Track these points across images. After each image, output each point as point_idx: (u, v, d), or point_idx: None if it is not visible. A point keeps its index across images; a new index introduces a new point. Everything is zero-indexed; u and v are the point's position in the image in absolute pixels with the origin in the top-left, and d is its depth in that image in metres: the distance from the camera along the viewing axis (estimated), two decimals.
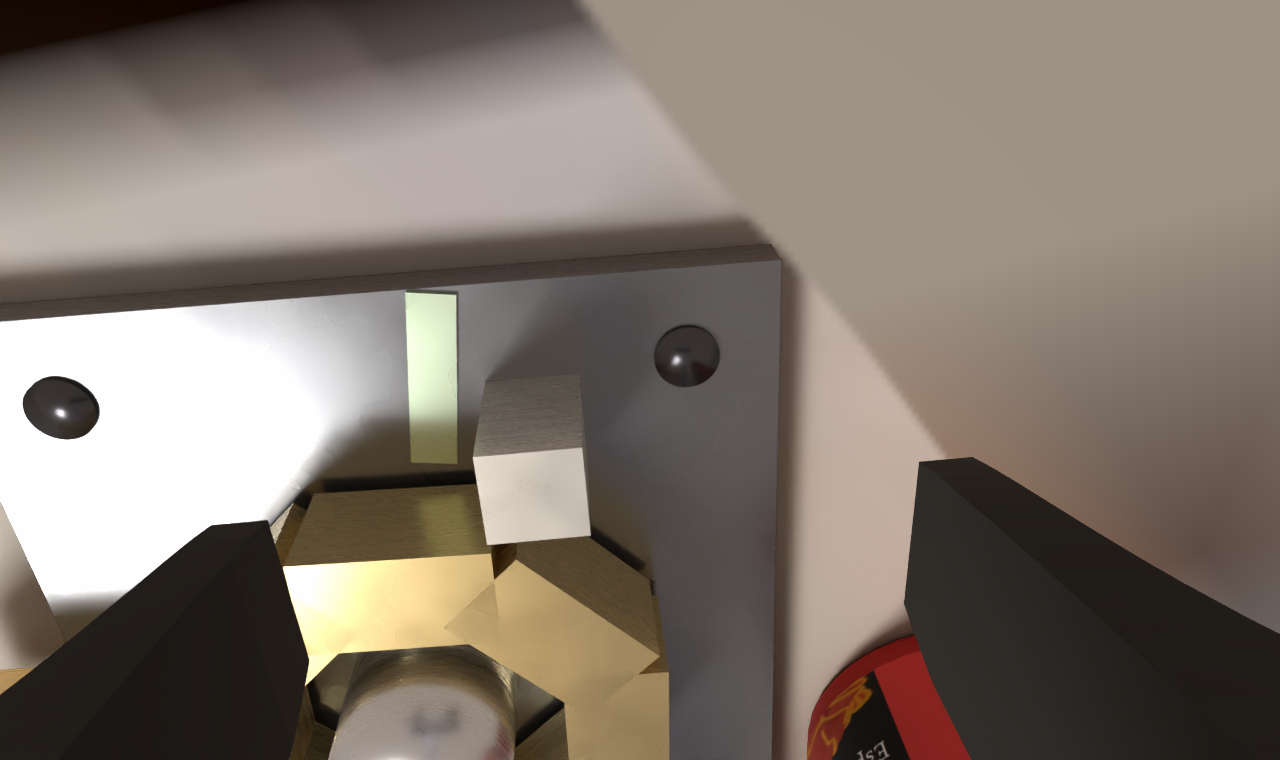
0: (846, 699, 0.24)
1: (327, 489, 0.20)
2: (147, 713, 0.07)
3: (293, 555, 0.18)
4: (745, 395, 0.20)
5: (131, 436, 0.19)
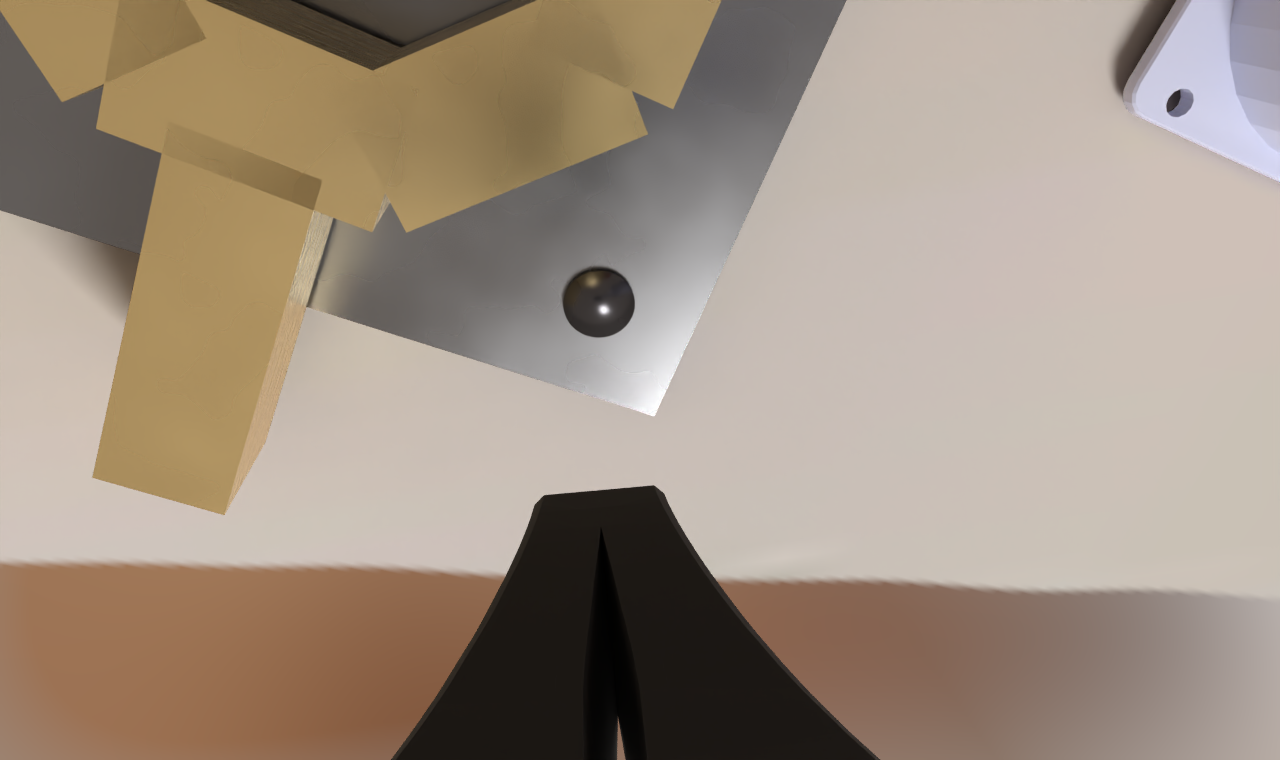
0: None
1: None
2: (591, 669, 0.07)
3: None
4: None
5: None
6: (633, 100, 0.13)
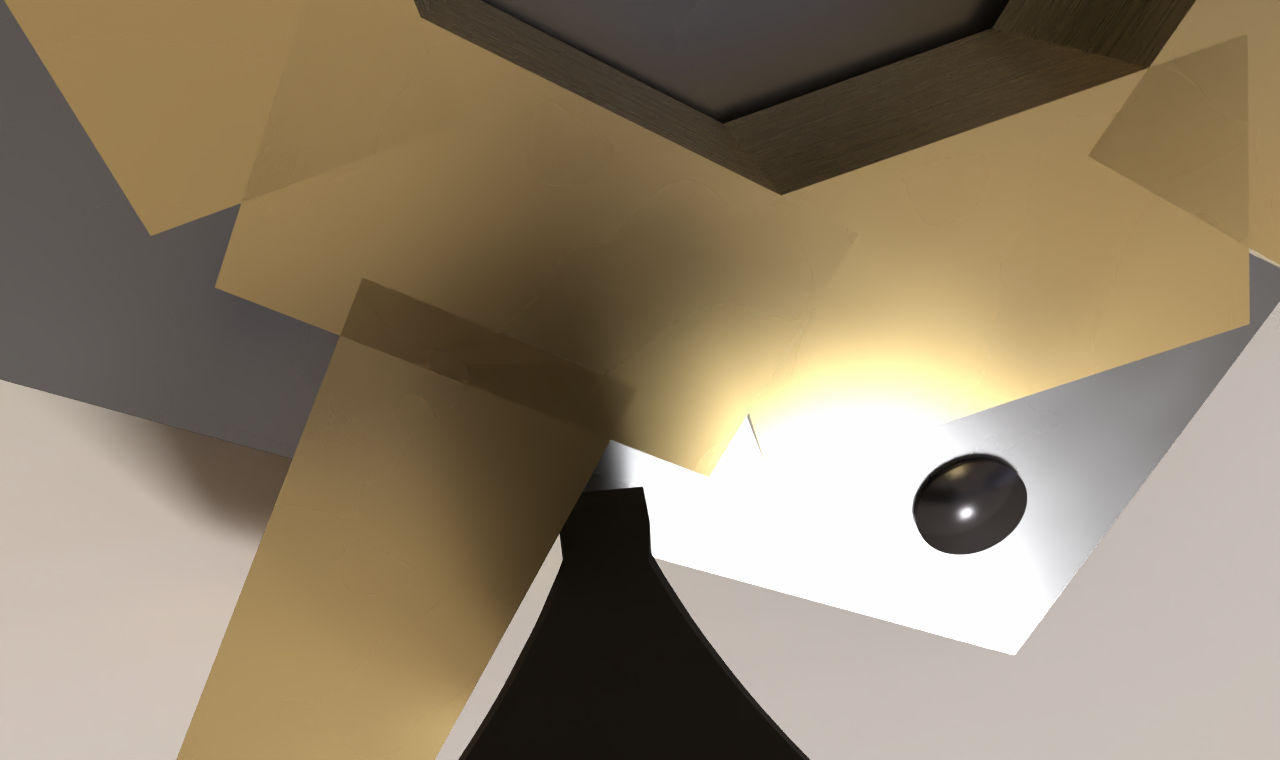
0: None
1: None
2: None
3: None
4: None
5: None
6: (1244, 264, 0.07)
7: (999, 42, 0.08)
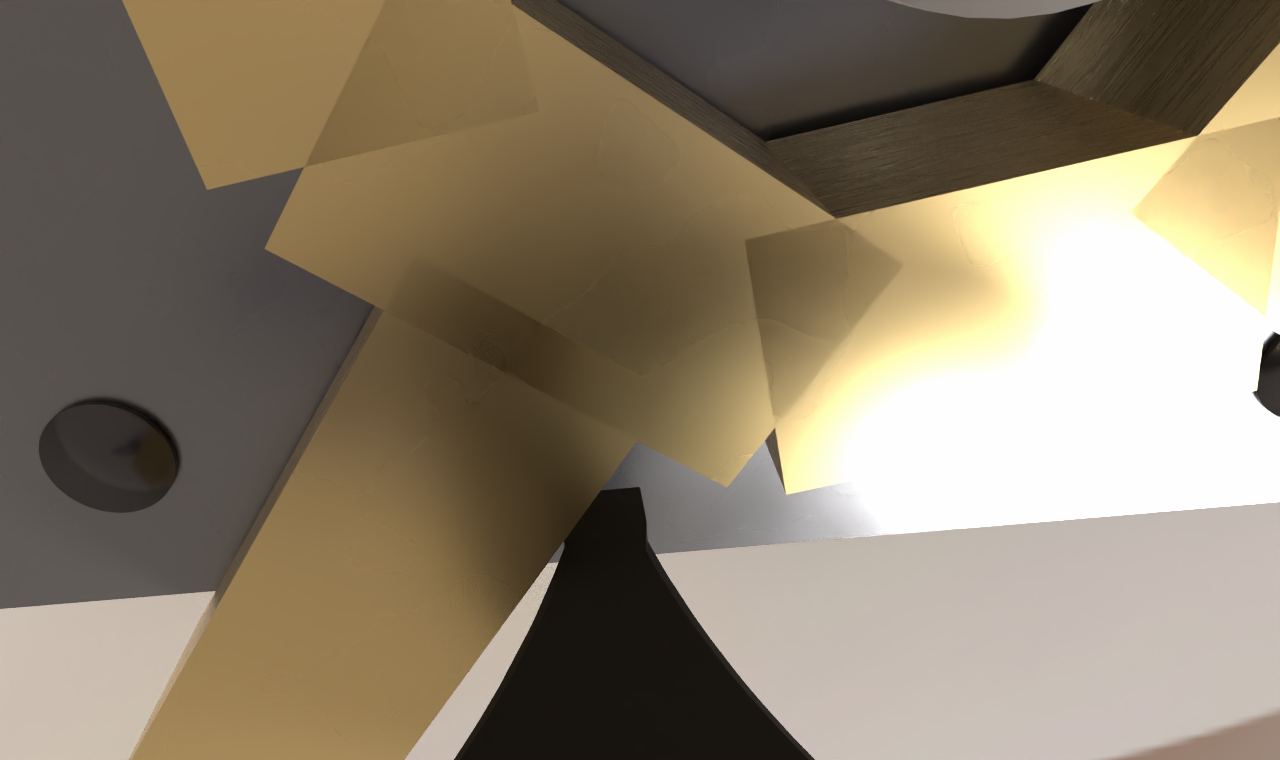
0: None
1: None
2: None
3: None
4: None
5: (154, 357, 0.10)
6: (1259, 332, 0.07)
7: (1043, 94, 0.08)
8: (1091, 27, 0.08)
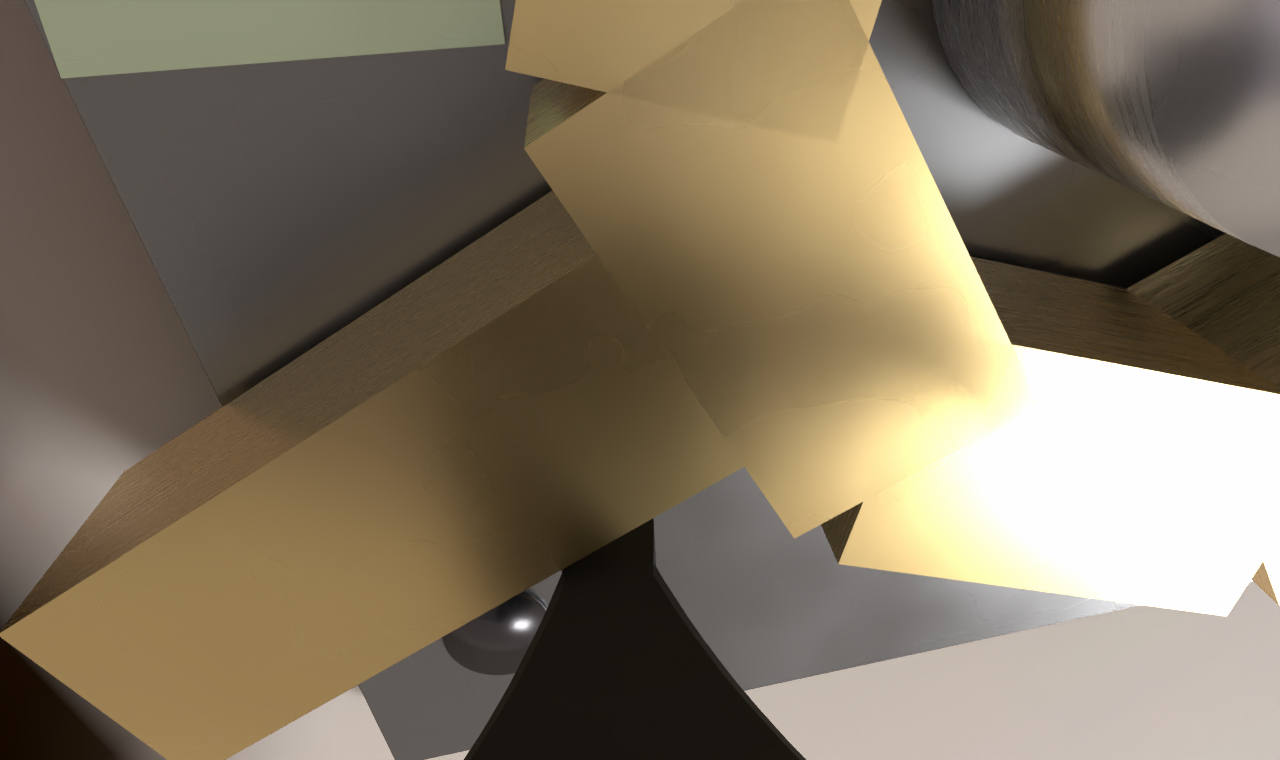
0: None
1: None
2: None
3: None
4: None
5: None
6: (1252, 571, 0.08)
7: (1142, 305, 0.09)
8: (1192, 268, 0.09)
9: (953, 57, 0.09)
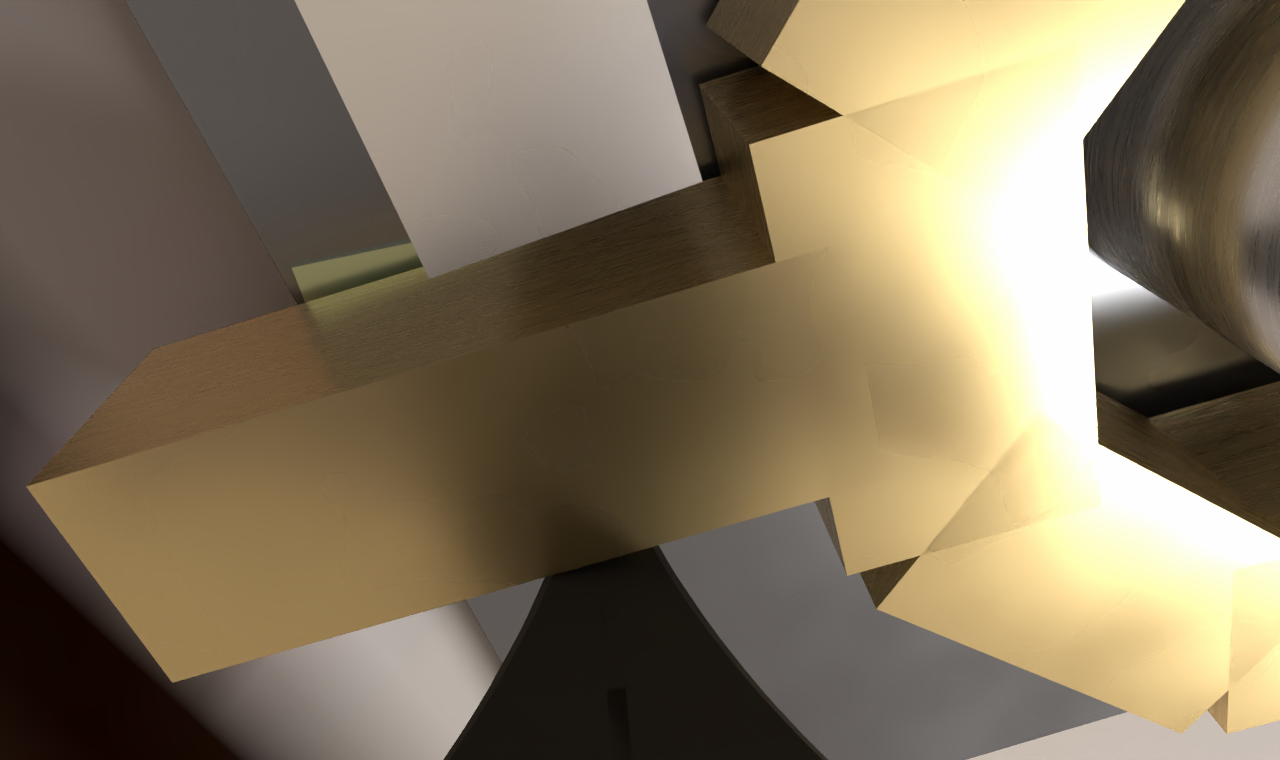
0: None
1: None
2: None
3: None
4: None
5: None
6: (1216, 697, 0.09)
7: (1166, 436, 0.10)
8: (1211, 414, 0.10)
9: (1090, 237, 0.10)
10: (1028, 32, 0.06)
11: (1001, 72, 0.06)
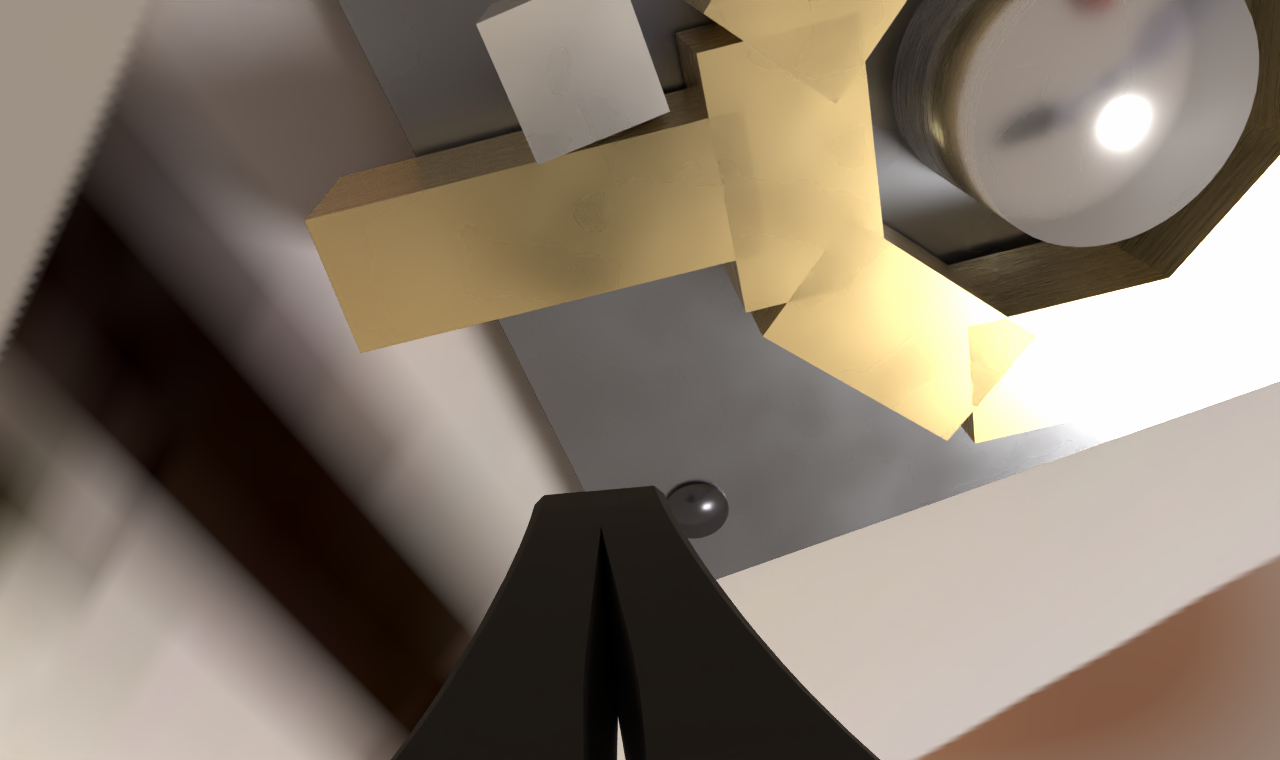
0: None
1: None
2: (592, 669, 0.07)
3: None
4: None
5: (713, 454, 0.19)
6: (966, 416, 0.16)
7: (953, 270, 0.16)
8: (984, 262, 0.17)
9: (913, 150, 0.16)
10: (835, 4, 0.12)
11: (822, 24, 0.12)
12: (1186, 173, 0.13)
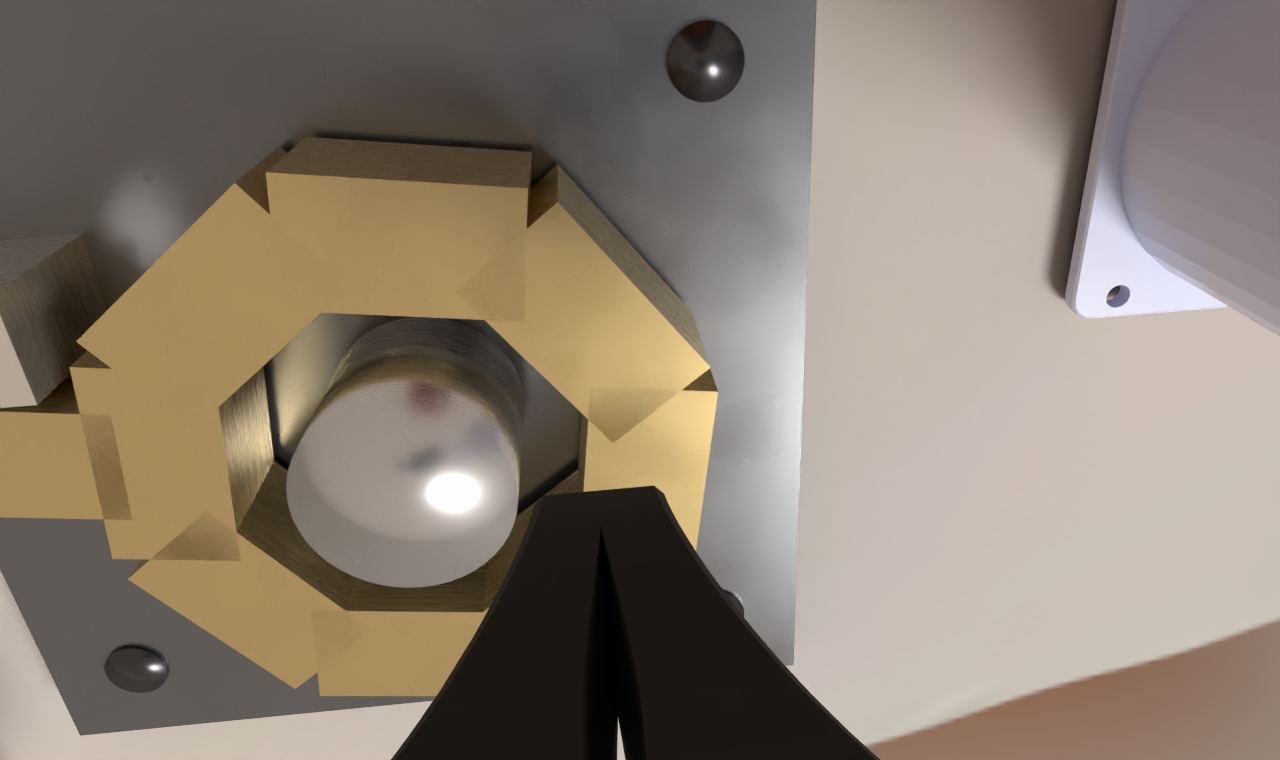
0: None
1: None
2: (592, 669, 0.07)
3: (279, 167, 0.14)
4: None
5: (156, 628, 0.21)
6: (312, 674, 0.19)
7: None
8: None
9: None
10: (192, 362, 0.15)
11: (181, 373, 0.15)
12: (465, 553, 0.17)
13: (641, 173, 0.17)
